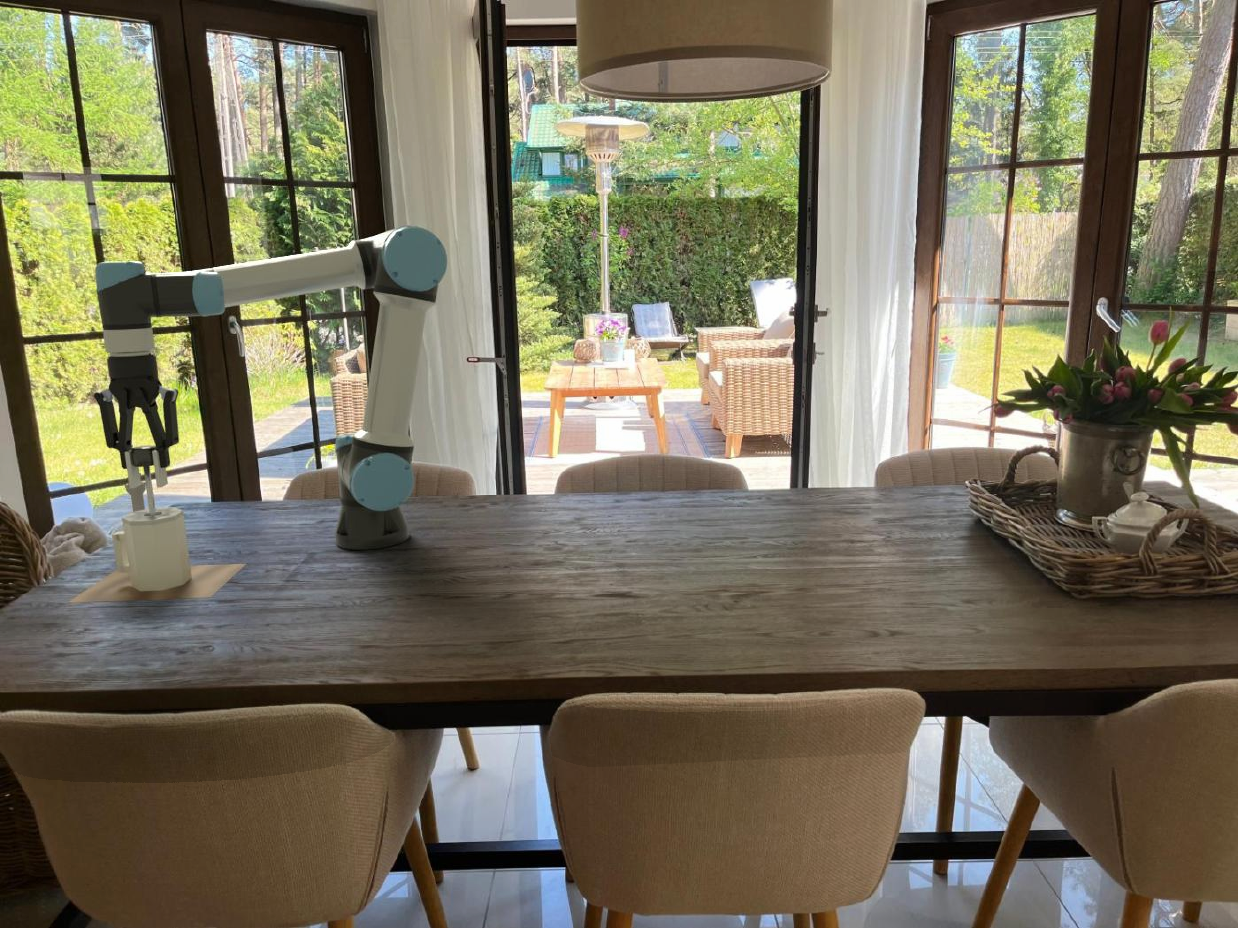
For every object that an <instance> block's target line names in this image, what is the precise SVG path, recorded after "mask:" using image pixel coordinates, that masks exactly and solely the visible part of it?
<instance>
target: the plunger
mask: <svg viewBox="0 0 1238 928" xmlns="http://www.w3.org/2000/svg"><path fill="white" fill-rule="evenodd" d="M155 448H156V445H151V444H150V445H140V446H133V447H132V448H130V450H131V453H132V460H133V466H134V467H139V468H142V469H143V475H144V482H145V483H146V489H145V491H146V496H147V498H146V499H147V504H148V509H149V512H150V516H156V510H155V508H156V504H155V498H154V497H155V496H154V491H153V490H154V488H153V483H152V475H151V468H150V467H151V466H152V467H154V461H153V454H152V451H154V450H155Z"/></svg>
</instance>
